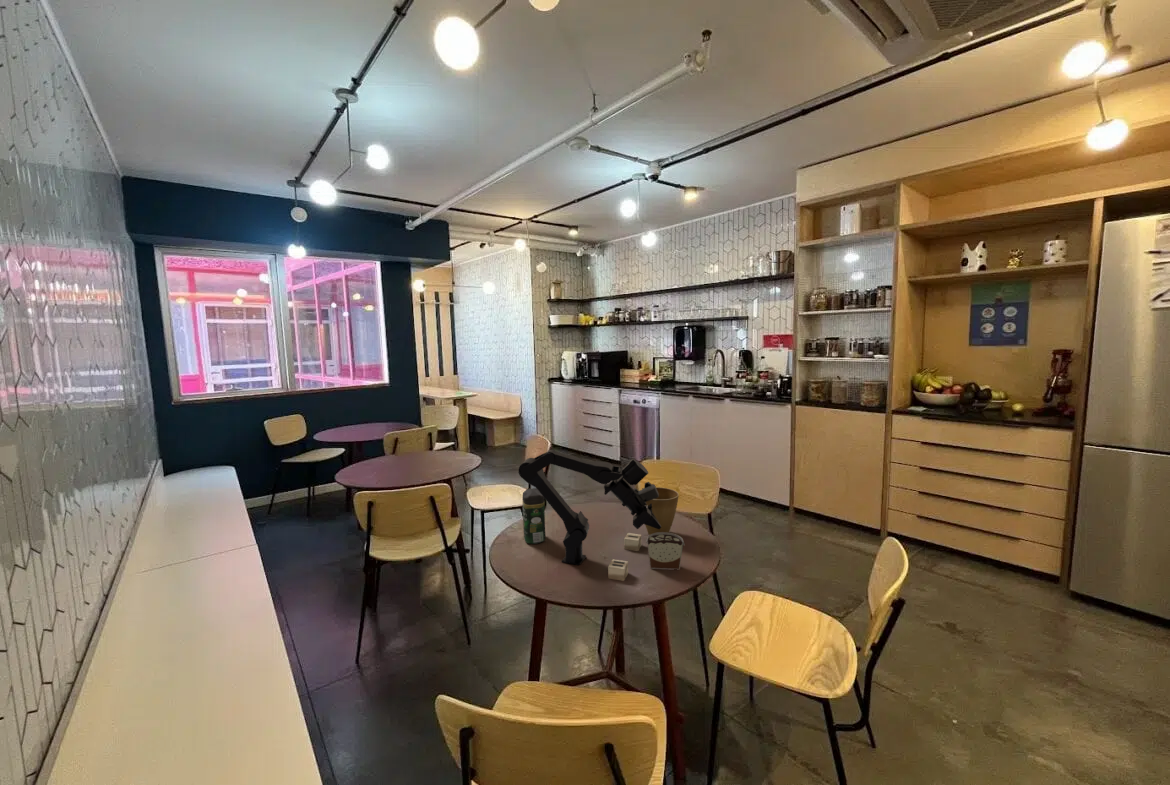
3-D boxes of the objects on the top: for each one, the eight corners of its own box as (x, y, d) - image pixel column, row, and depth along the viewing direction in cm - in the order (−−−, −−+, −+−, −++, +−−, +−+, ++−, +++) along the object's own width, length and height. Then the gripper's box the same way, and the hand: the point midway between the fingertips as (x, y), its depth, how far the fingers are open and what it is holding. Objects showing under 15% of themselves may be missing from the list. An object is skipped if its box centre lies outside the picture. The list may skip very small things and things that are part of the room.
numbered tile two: (624, 581, 144) (624, 568, 143) (608, 578, 145) (608, 566, 145) (628, 573, 148) (627, 561, 148) (612, 571, 150) (612, 558, 150)
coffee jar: (522, 535, 178) (520, 487, 176) (543, 532, 180) (541, 485, 177) (525, 546, 168) (523, 496, 166) (547, 543, 170) (546, 494, 168)
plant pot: (685, 539, 173) (686, 497, 171) (648, 544, 168) (648, 501, 166) (667, 524, 187) (667, 485, 185) (632, 528, 183) (632, 488, 181)
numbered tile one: (638, 551, 164) (638, 540, 163) (624, 549, 165) (624, 538, 165) (641, 545, 168) (641, 534, 168) (627, 543, 170) (627, 532, 169)
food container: (682, 560, 156) (682, 531, 155) (684, 569, 150) (684, 539, 149) (644, 559, 157) (644, 530, 156) (645, 568, 151) (645, 538, 150)
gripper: (643, 486, 142) (680, 523, 142) (643, 469, 160) (676, 501, 160) (617, 510, 144) (654, 546, 144) (620, 491, 162) (652, 522, 162)
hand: (660, 528), depth 152 cm, fingers closed
